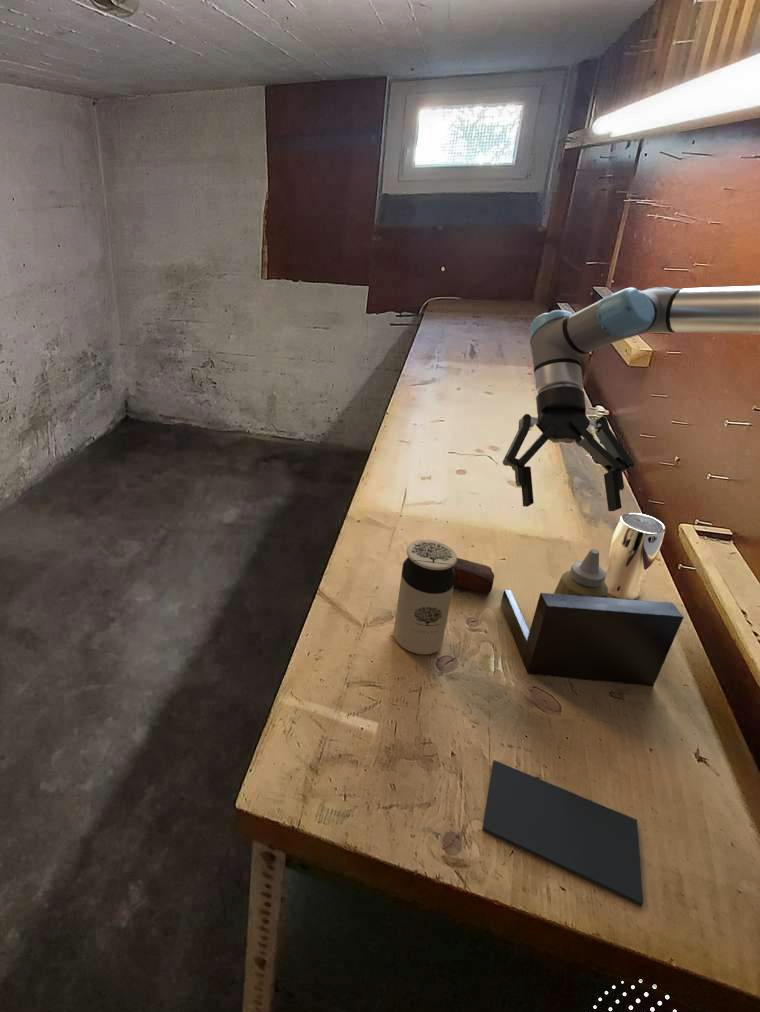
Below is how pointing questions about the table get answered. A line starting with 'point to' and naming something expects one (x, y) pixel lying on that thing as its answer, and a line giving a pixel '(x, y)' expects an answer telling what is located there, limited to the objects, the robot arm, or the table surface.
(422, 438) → the table surface
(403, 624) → the travel mug
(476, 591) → the brick
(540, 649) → the black angular stand
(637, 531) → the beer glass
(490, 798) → the mat
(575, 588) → the squeeze bottle
